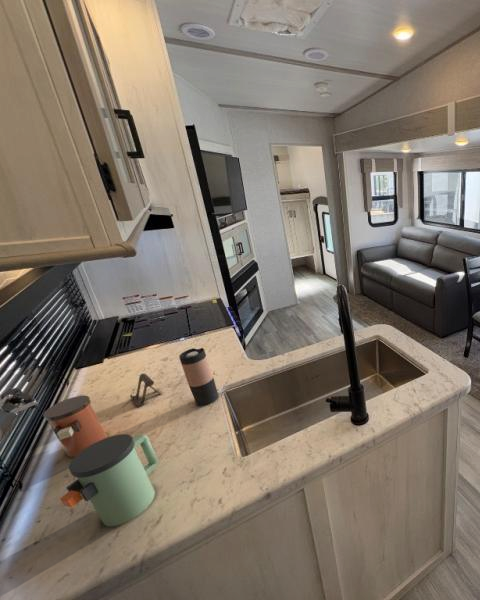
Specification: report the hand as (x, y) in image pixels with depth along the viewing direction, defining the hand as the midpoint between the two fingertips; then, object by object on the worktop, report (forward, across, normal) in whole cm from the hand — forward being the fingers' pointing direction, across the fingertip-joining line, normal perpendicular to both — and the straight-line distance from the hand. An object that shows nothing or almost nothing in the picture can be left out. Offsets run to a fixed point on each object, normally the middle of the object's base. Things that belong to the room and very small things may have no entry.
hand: (15, 391), depth 72 cm
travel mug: (+19, -32, +30) cm, 48 cm away
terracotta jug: (+17, 0, +30) cm, 35 cm away
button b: (+9, 0, +20) cm, 22 cm away
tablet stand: (+35, -13, +30) cm, 48 cm away
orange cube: (-23, -10, +18) cm, 31 cm away
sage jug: (-16, -16, +30) cm, 38 cm away
